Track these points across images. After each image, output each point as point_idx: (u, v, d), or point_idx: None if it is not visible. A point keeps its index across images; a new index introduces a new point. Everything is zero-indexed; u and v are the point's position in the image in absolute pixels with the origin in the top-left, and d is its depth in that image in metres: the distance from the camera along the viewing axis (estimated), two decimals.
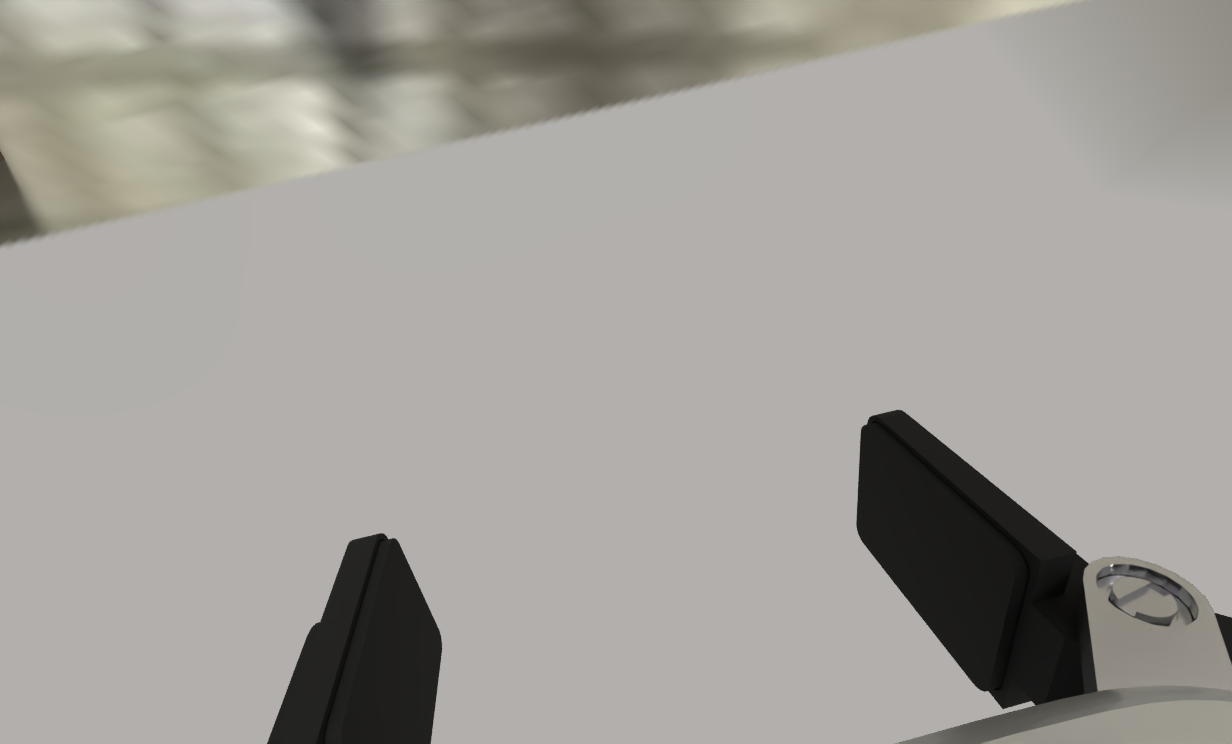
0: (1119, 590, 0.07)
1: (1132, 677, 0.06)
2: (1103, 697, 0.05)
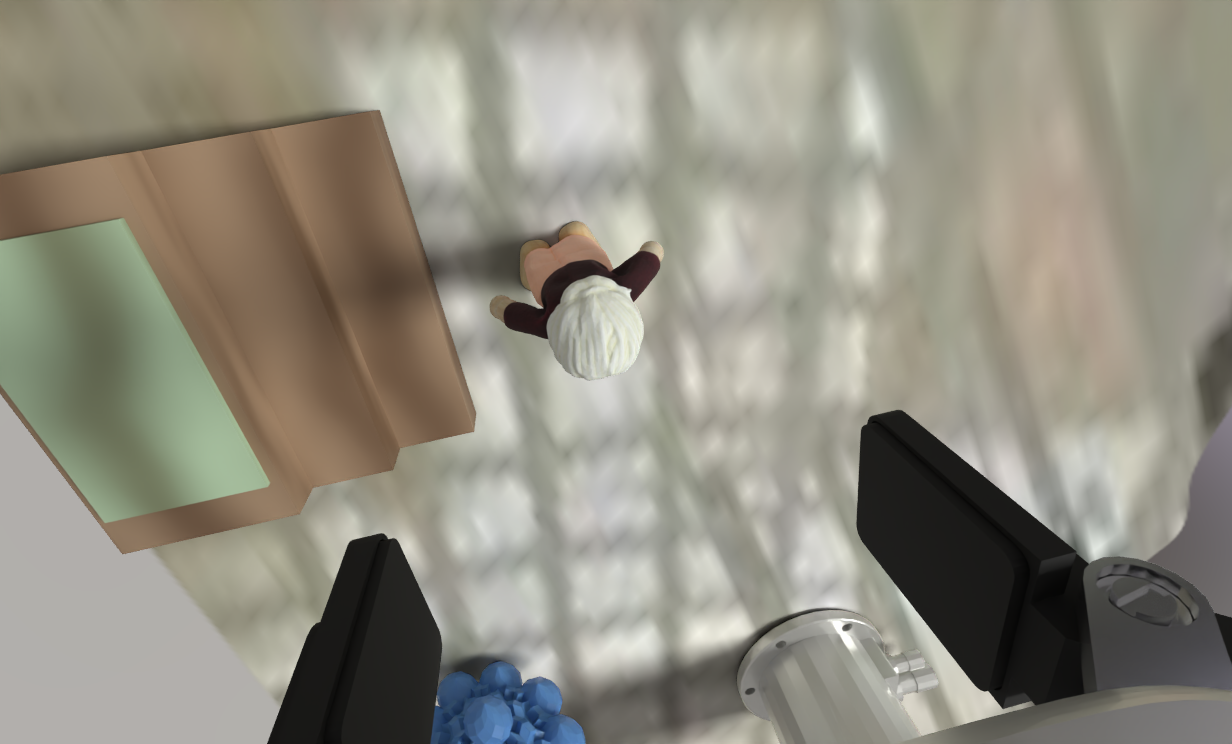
0: (1119, 590, 0.07)
1: (1132, 677, 0.06)
2: (1105, 697, 0.05)
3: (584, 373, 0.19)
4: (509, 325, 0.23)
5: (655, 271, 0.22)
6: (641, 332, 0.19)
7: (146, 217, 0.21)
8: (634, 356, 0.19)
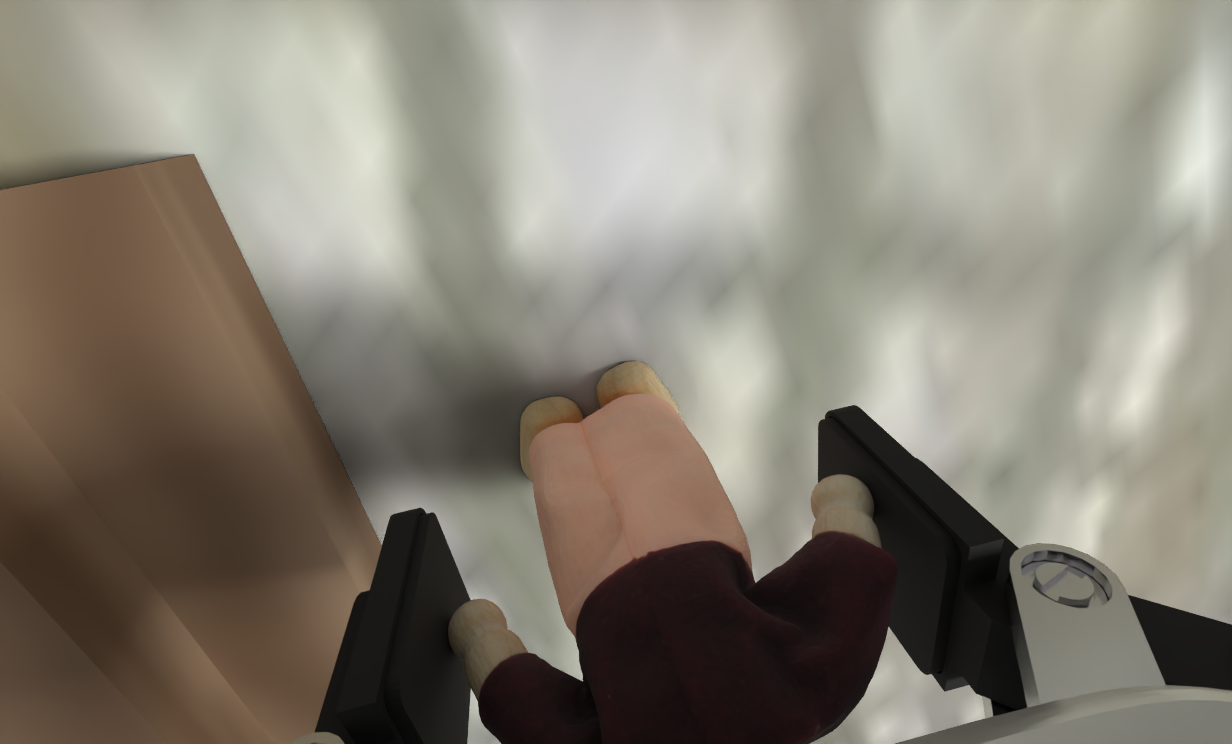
0: (1042, 576, 0.08)
1: (1043, 654, 0.07)
2: (1105, 697, 0.05)
3: None
4: (494, 734, 0.09)
5: None
6: None
7: None
8: None
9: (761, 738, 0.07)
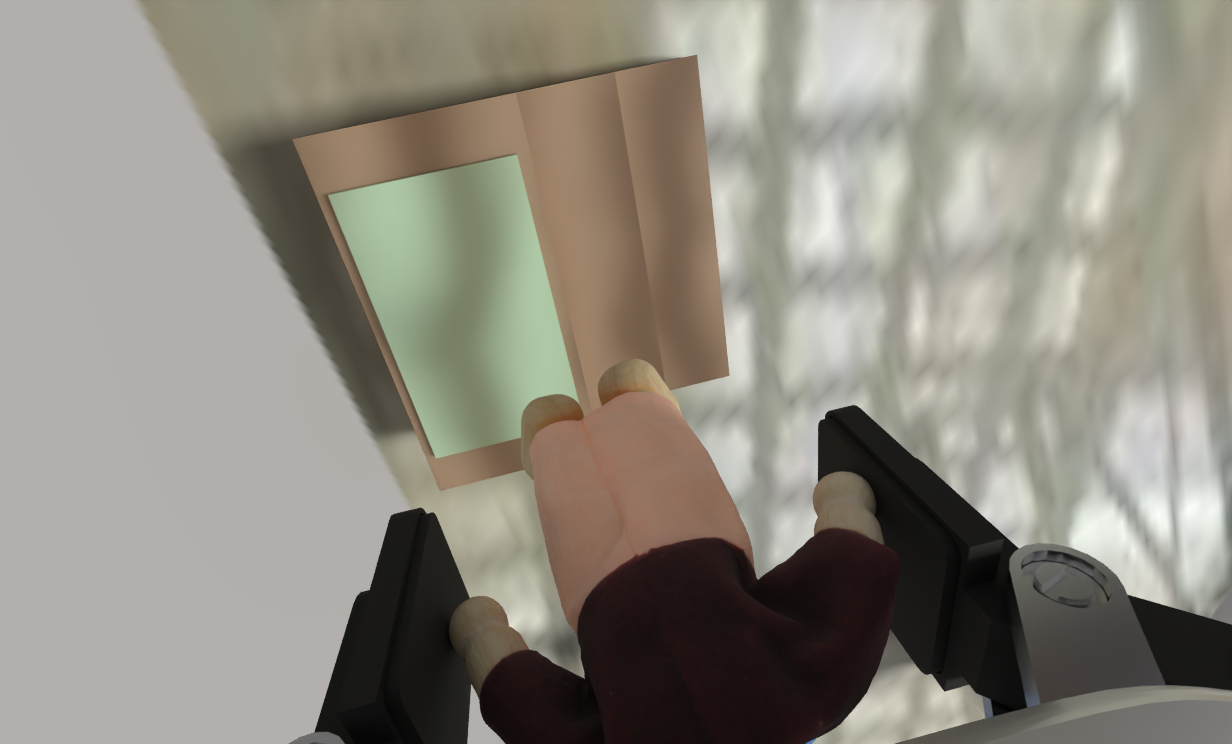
0: (1041, 576, 0.08)
1: (1043, 654, 0.07)
2: (1105, 698, 0.05)
3: None
4: (495, 732, 0.09)
5: None
6: None
7: None
8: None
9: (763, 735, 0.07)
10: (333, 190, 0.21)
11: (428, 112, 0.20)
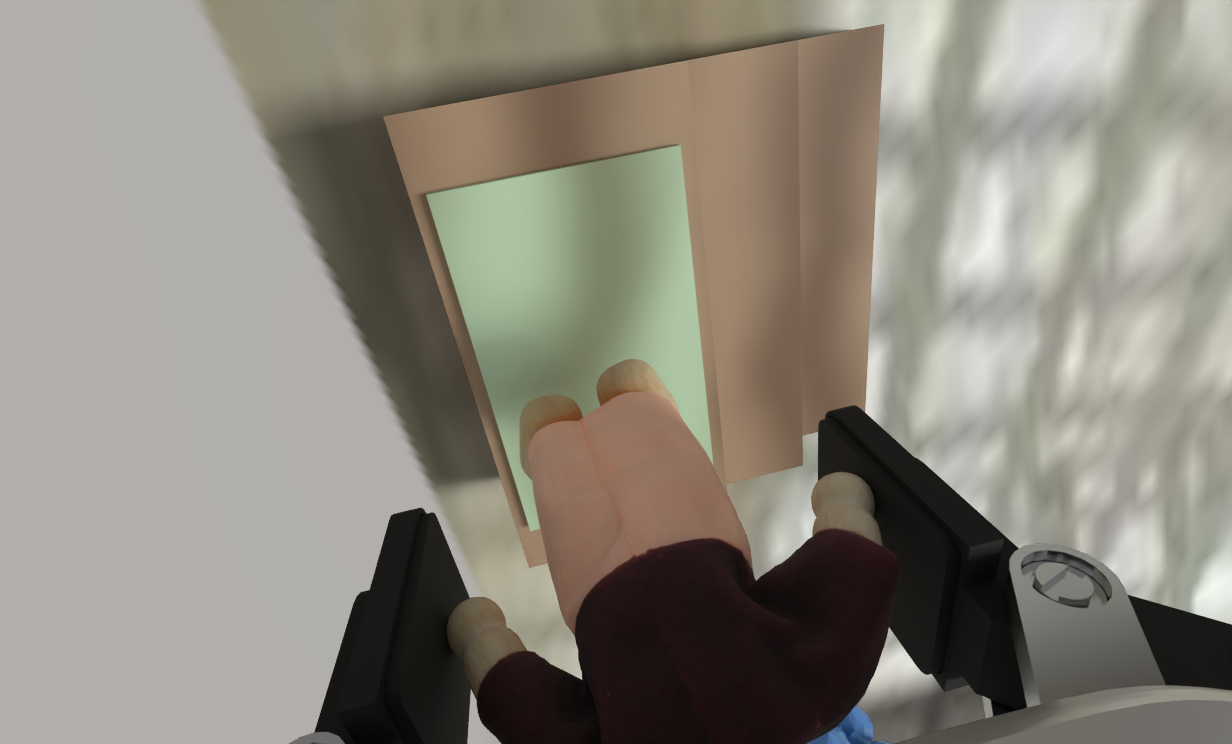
0: (1041, 576, 0.08)
1: (1043, 654, 0.07)
2: (1104, 698, 0.05)
3: None
4: (493, 733, 0.09)
5: (892, 599, 0.08)
6: None
7: None
8: None
9: (761, 737, 0.07)
10: (432, 188, 0.15)
11: (569, 84, 0.15)
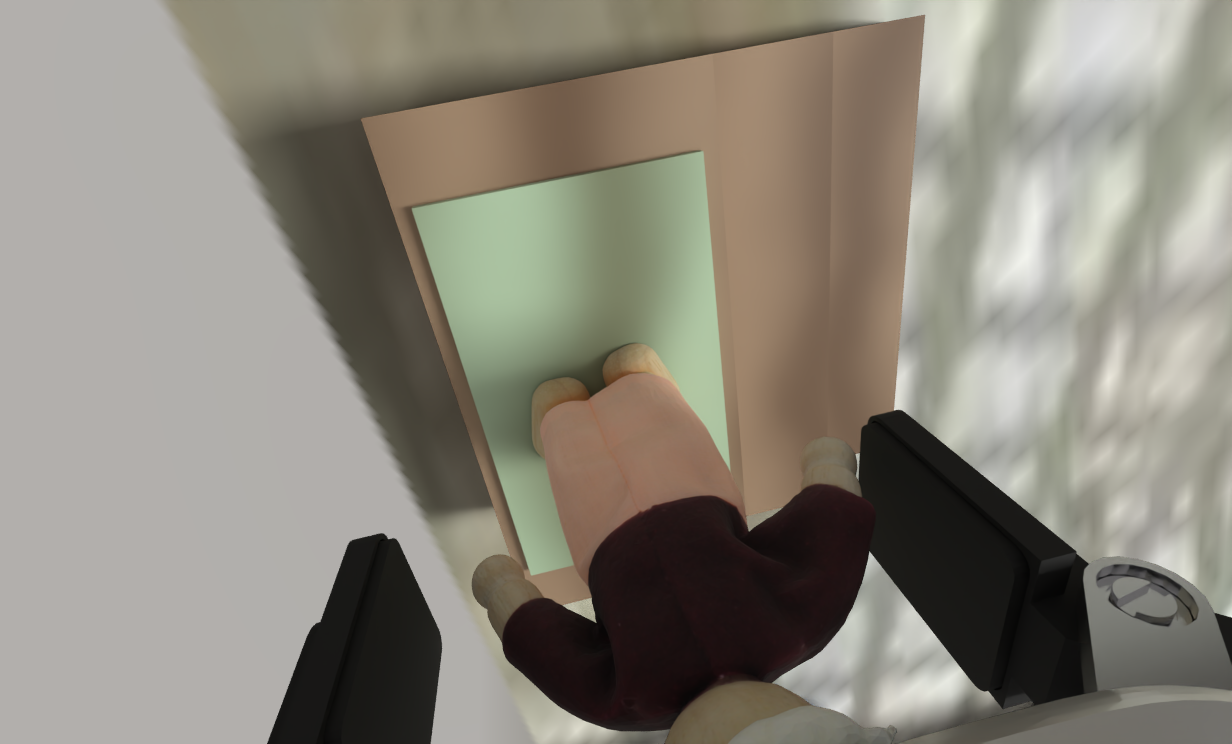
0: (1119, 590, 0.07)
1: (1132, 677, 0.06)
2: (1103, 696, 0.05)
3: None
4: (517, 667, 0.10)
5: (869, 543, 0.09)
6: None
7: None
8: None
9: (752, 653, 0.08)
10: (419, 201, 0.13)
11: (576, 81, 0.13)
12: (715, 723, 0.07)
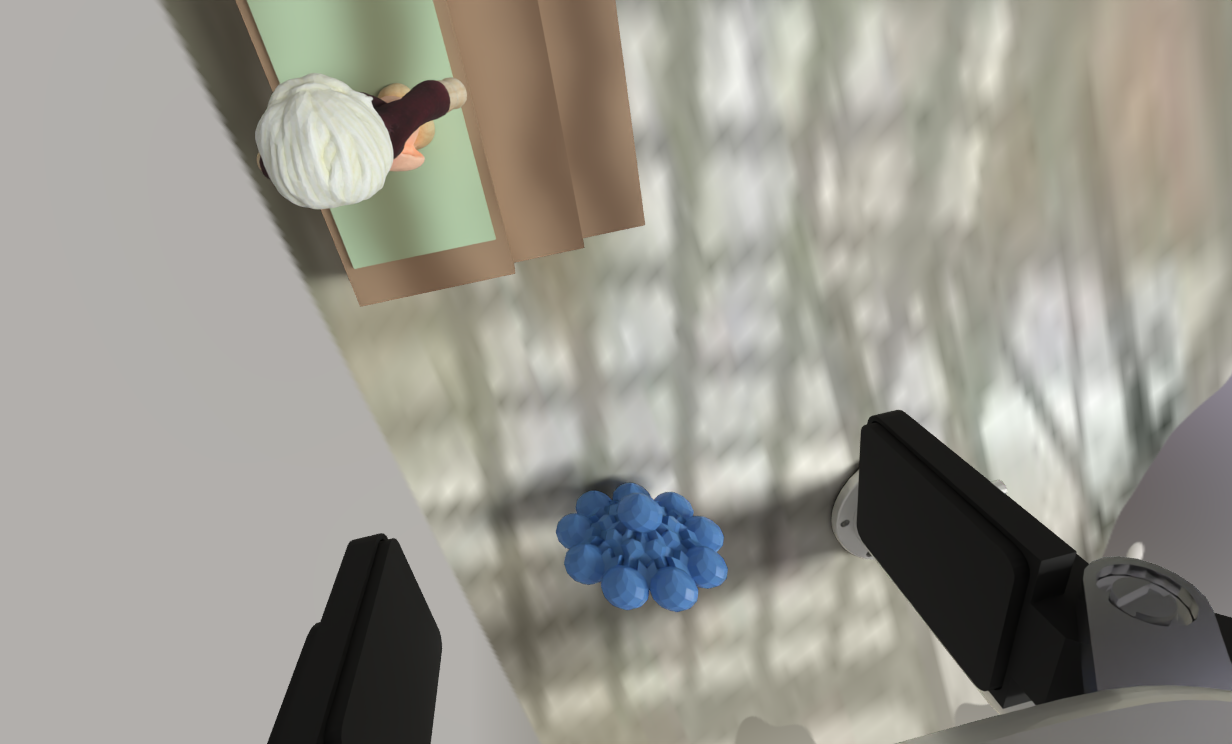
0: (1119, 590, 0.07)
1: (1133, 677, 0.06)
2: (1104, 697, 0.05)
3: (299, 194, 0.15)
4: (266, 173, 0.19)
5: (440, 103, 0.18)
6: (385, 150, 0.15)
7: None
8: (372, 178, 0.15)
9: None
10: None
11: None
12: None
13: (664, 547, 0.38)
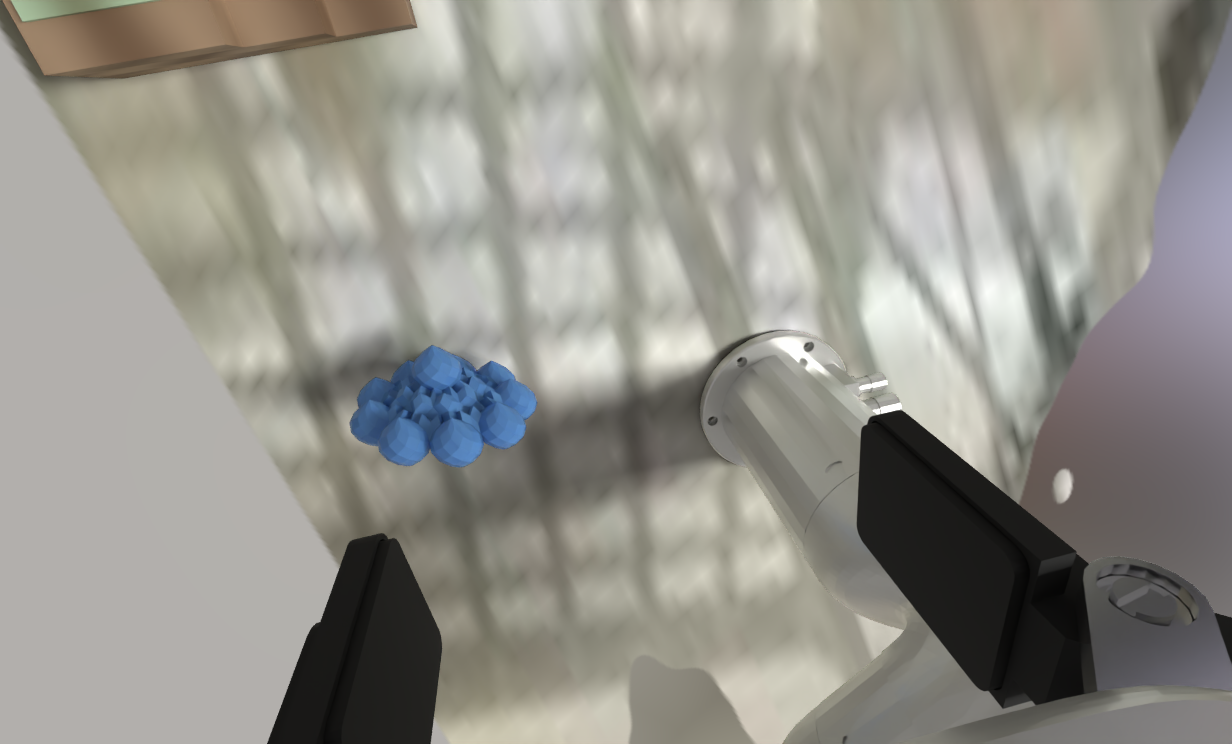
0: (1119, 590, 0.07)
1: (1132, 677, 0.06)
2: (1104, 696, 0.05)
3: None
4: None
5: None
6: None
7: None
8: None
9: None
10: None
11: None
12: None
13: (455, 402, 0.34)
